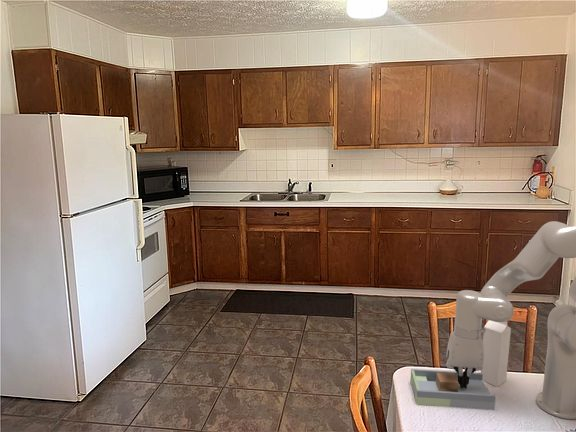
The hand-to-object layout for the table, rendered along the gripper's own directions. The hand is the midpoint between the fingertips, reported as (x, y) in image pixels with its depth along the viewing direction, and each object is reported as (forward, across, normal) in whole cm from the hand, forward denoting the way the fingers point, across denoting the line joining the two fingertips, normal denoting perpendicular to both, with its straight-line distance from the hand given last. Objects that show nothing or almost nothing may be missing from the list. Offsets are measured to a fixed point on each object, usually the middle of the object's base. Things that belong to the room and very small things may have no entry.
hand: (462, 385), depth 137 cm
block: (+1, +5, 0) cm, 5 cm away
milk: (+4, -13, -11) cm, 17 cm away
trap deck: (+4, +4, 0) cm, 5 cm away
